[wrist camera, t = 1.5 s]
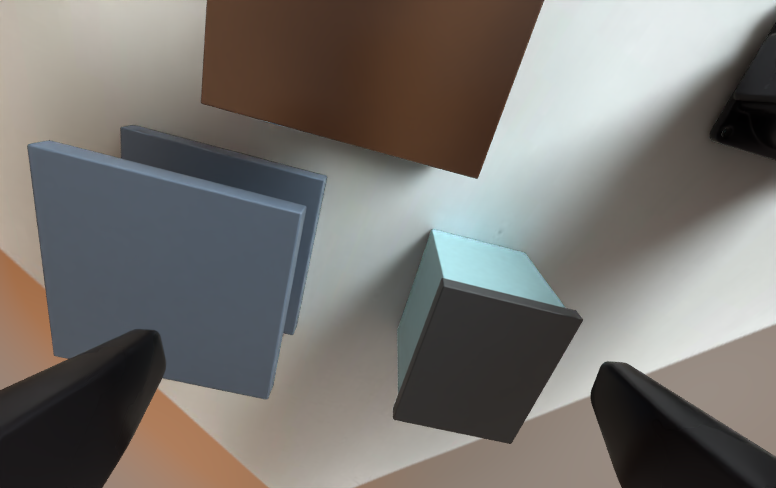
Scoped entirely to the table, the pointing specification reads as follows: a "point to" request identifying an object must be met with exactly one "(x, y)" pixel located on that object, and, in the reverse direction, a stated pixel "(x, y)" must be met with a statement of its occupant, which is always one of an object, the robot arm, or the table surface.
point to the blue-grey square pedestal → (176, 252)
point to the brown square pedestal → (372, 70)
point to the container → (477, 339)
